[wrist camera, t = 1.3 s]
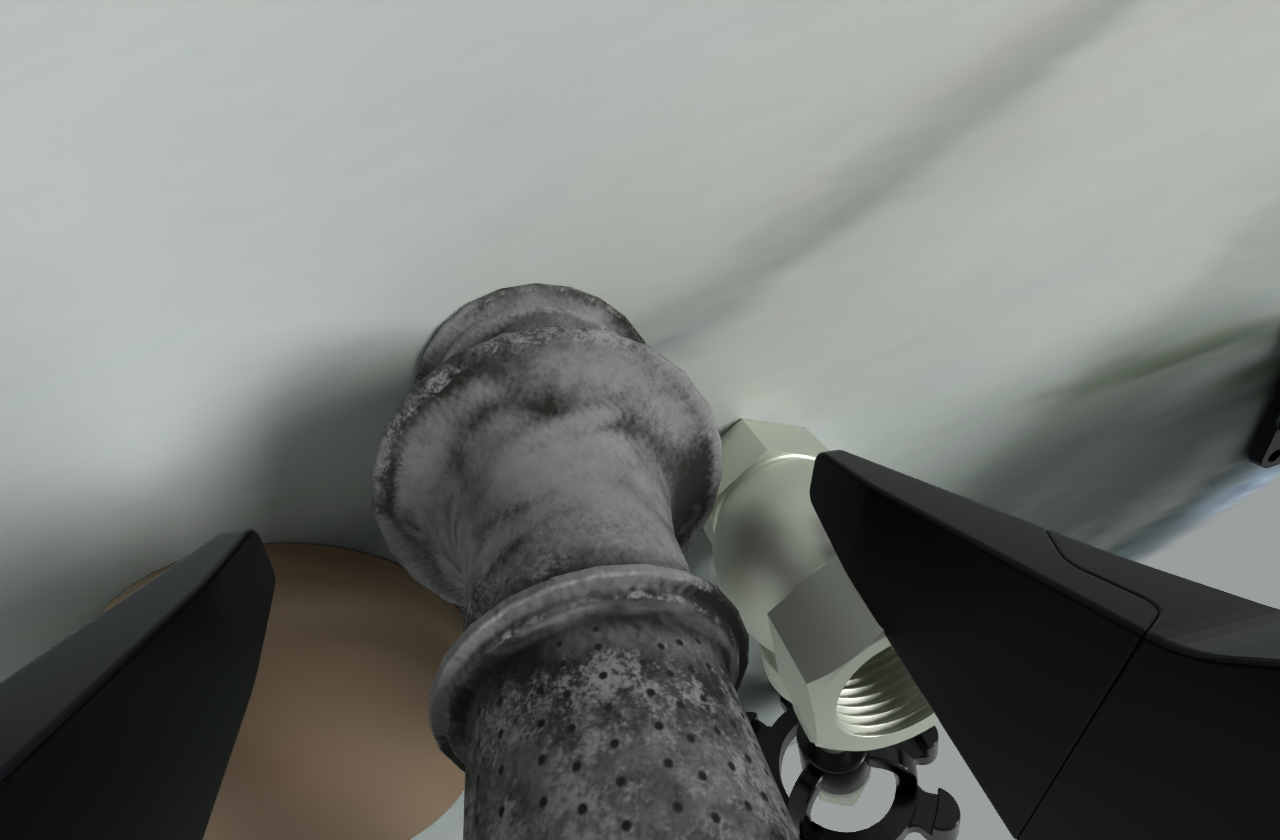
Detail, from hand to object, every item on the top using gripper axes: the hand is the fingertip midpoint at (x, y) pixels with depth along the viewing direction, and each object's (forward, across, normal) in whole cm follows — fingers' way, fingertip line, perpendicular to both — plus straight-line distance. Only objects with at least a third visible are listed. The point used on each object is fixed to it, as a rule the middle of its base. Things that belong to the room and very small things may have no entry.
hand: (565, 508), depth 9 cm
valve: (+4, -6, +7) cm, 10 cm away
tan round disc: (+4, +7, +7) cm, 11 cm away
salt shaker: (+4, 0, 0) cm, 4 cm away
